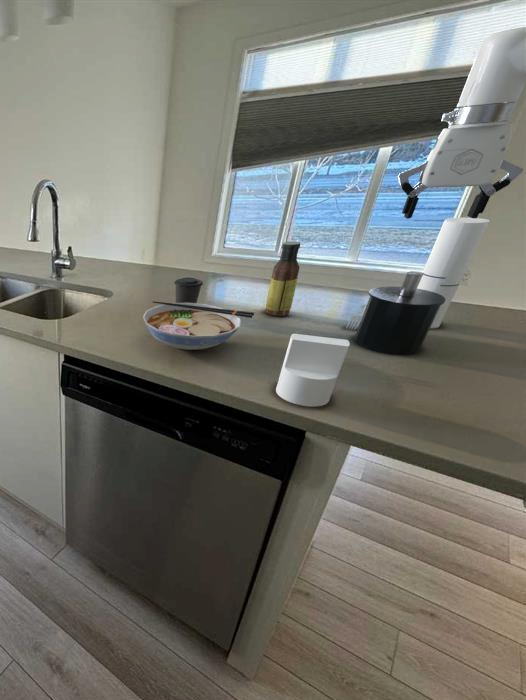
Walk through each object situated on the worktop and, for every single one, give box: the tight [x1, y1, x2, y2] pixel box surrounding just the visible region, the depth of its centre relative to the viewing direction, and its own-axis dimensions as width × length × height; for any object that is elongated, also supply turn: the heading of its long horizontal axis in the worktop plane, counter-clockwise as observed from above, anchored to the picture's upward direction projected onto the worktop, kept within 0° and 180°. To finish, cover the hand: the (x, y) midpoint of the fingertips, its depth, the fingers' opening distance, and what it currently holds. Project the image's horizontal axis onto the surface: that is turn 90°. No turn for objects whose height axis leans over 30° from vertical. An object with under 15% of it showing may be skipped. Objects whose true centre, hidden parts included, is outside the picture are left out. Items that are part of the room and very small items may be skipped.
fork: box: [345, 304, 367, 331], centre depth 110 cm, size 3×21×3 cm, turn 131°
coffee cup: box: [173, 277, 204, 303], centre depth 122 cm, size 8×8×10 cm
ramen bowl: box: [142, 300, 255, 351], centre depth 102 cm, size 25×23×8 cm
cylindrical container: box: [417, 217, 490, 329], centre depth 98 cm, size 7×7×25 cm
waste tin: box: [354, 295, 441, 356], centre depth 93 cm, size 12×12×12 cm
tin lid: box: [368, 270, 446, 307], centre depth 89 cm, size 13×13×6 cm
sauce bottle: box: [265, 240, 301, 317], centre depth 112 cm, size 7×6×20 cm
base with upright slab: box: [275, 333, 351, 408], centre depth 78 cm, size 9×9×12 cm
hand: (438, 217), depth 82 cm, fingers open, 9 cm apart
